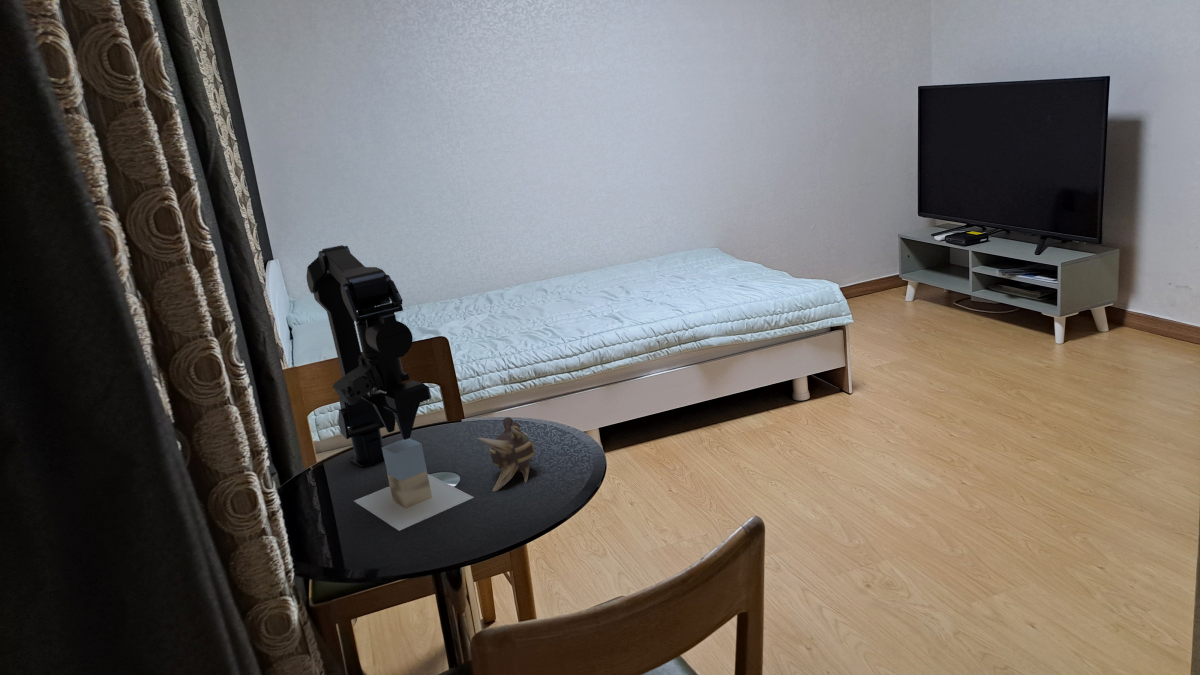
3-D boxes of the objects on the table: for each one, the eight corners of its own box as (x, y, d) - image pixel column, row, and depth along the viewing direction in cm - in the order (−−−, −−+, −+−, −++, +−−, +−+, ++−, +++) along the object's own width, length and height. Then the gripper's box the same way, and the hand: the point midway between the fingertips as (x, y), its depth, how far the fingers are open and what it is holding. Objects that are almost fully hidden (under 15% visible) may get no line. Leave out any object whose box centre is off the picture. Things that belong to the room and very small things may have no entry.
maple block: (393, 500, 145) (387, 474, 144) (418, 490, 148) (413, 464, 147) (406, 508, 141) (400, 481, 140) (432, 497, 144) (426, 470, 143)
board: (354, 502, 148) (353, 500, 147) (424, 474, 156) (424, 472, 156) (399, 532, 134) (399, 530, 134) (474, 499, 142) (473, 497, 142)
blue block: (387, 474, 144) (381, 447, 143) (413, 463, 147) (407, 437, 146) (400, 481, 140) (394, 453, 139) (427, 470, 143) (421, 443, 142)
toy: (547, 457, 157) (537, 487, 142) (505, 465, 158) (491, 496, 143) (533, 403, 155) (522, 427, 140) (491, 411, 156) (476, 437, 141)
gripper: (311, 353, 140) (332, 440, 144) (356, 369, 126) (378, 465, 130) (373, 335, 147) (391, 419, 151) (422, 349, 132) (441, 440, 136)
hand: (398, 435), depth 142 cm, fingers open, 6 cm apart
